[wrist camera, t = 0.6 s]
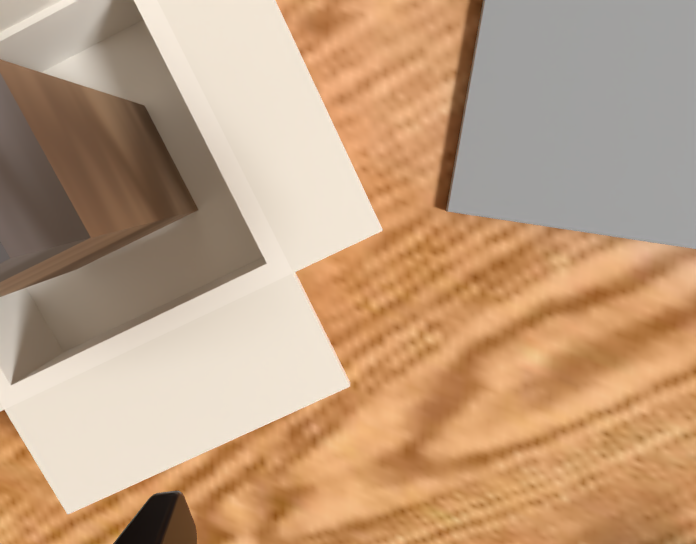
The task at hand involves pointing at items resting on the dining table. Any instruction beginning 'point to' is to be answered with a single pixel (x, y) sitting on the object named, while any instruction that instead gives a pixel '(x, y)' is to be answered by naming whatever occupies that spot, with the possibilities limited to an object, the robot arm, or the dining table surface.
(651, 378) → the dining table surface
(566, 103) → the slate mat
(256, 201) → the carton
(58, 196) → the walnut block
